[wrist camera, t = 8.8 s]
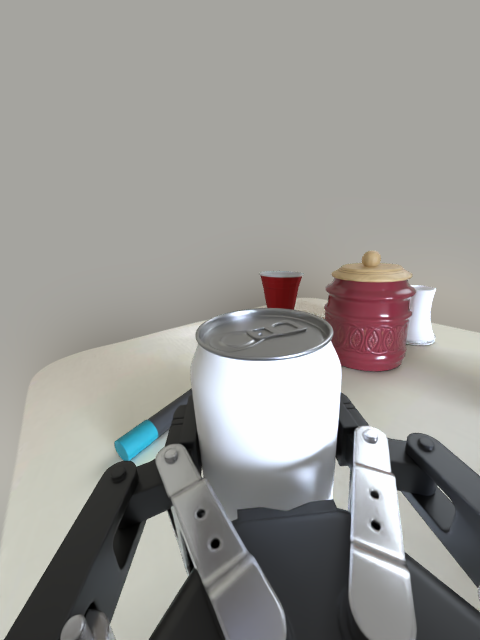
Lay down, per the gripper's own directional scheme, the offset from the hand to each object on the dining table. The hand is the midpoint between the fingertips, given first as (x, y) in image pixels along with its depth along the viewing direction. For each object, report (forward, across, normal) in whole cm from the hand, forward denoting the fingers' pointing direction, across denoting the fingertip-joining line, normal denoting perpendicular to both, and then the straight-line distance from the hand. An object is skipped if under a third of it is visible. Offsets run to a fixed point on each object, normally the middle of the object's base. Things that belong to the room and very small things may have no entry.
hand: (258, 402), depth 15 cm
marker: (+14, +8, +12) cm, 20 cm away
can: (-2, 0, +7) cm, 7 cm away
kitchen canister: (+27, -21, +12) cm, 36 cm away
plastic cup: (+49, -12, +12) cm, 52 cm away
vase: (+32, -34, +12) cm, 48 cm away
